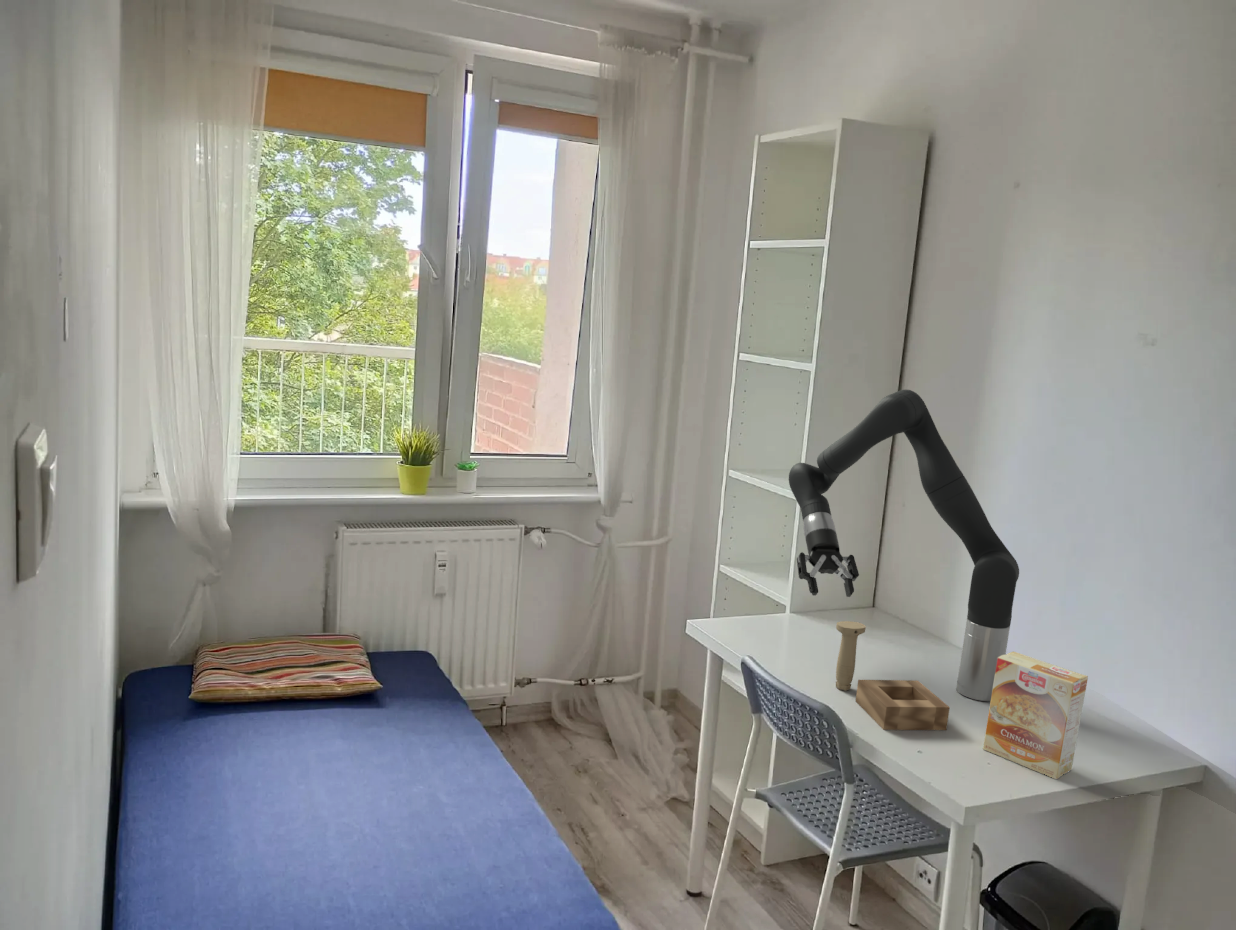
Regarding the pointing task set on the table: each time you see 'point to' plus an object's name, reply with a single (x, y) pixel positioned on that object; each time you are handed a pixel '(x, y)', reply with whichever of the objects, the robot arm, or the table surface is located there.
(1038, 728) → the coffeecake box
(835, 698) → the table surface
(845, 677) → the handle
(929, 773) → the table surface
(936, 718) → the socket block
